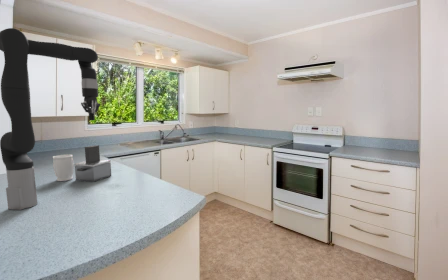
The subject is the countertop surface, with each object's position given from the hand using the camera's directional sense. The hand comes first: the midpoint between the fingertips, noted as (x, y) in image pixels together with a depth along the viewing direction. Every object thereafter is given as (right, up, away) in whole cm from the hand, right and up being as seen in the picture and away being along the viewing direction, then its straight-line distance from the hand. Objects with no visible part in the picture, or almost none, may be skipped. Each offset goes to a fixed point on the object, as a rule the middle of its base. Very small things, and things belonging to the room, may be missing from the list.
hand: (92, 120), depth 130 cm
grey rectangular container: (-10, -35, +21) cm, 42 cm away
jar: (-27, -35, +17) cm, 48 cm away
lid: (-10, -26, +20) cm, 34 cm away
